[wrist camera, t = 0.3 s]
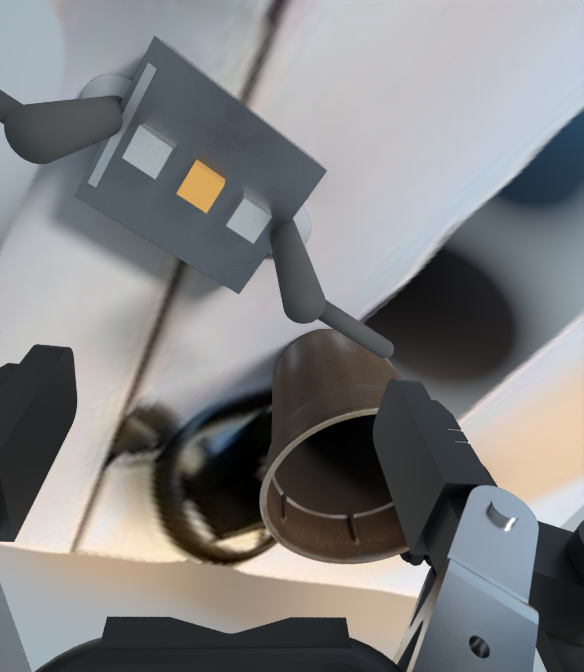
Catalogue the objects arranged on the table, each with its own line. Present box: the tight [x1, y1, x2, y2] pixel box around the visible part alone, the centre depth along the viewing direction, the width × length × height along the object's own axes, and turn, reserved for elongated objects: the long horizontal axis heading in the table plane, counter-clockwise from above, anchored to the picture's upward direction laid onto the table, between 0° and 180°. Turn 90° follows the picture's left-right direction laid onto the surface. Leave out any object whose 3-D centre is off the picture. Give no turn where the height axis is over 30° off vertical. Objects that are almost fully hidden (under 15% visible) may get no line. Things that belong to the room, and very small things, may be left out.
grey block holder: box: [75, 36, 327, 294], centre depth 34 cm, size 12×14×6 cm
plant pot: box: [260, 329, 409, 564], centre depth 40 cm, size 16×16×16 cm
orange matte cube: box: [176, 159, 225, 213], centre depth 32 cm, size 2×2×2 cm
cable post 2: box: [269, 205, 394, 358], centre depth 33 cm, size 5×10×16 cm, turn 54°
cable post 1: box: [0, 74, 132, 164], centre depth 26 cm, size 5×10×16 cm, turn 54°
